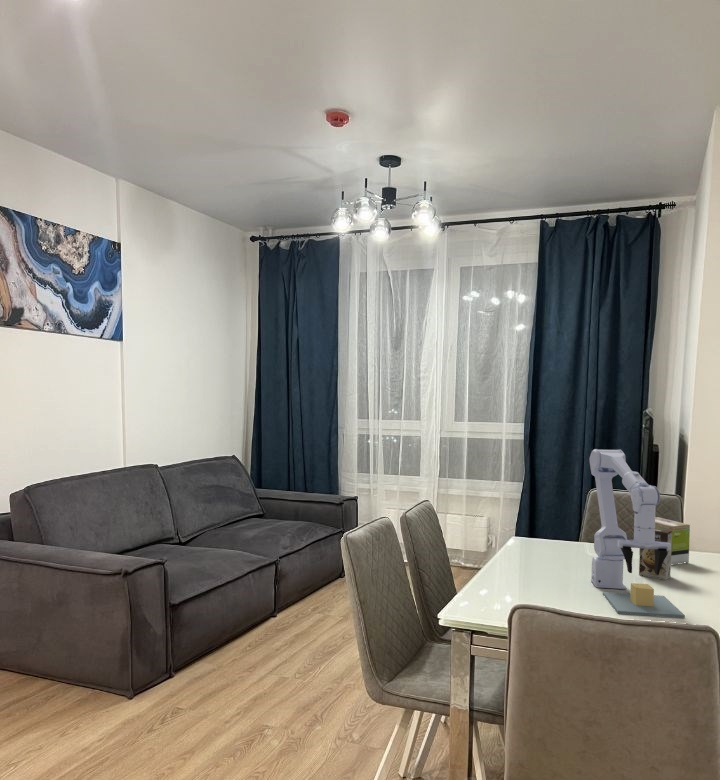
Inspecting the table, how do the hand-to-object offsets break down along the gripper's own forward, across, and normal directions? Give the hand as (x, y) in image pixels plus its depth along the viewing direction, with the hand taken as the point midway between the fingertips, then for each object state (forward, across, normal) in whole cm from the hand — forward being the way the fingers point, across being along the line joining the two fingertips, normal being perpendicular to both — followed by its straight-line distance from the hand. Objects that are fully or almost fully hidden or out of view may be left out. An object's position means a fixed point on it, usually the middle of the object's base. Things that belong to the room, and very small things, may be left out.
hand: (643, 572), depth 197 cm
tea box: (+10, +24, +60) cm, 65 cm away
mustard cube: (+8, -1, -1) cm, 9 cm away
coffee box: (+10, +14, +34) cm, 38 cm away
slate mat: (+9, -1, -1) cm, 9 cm away
